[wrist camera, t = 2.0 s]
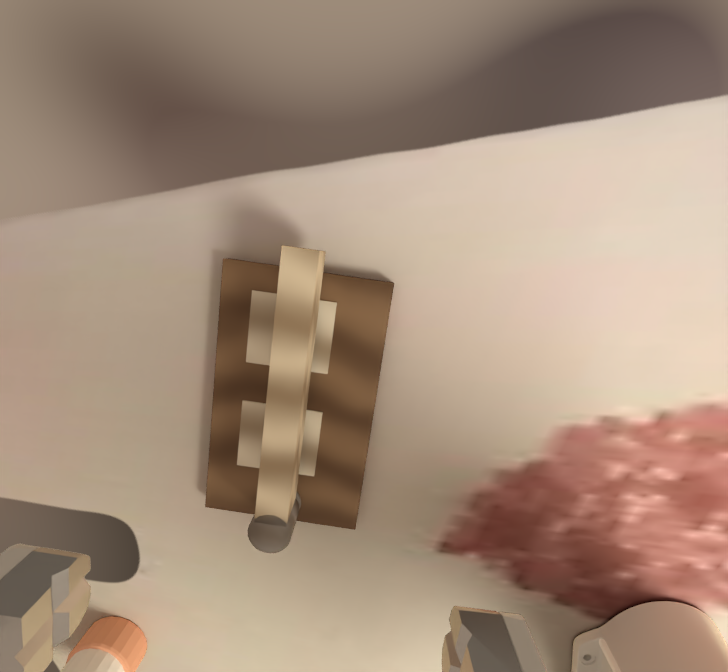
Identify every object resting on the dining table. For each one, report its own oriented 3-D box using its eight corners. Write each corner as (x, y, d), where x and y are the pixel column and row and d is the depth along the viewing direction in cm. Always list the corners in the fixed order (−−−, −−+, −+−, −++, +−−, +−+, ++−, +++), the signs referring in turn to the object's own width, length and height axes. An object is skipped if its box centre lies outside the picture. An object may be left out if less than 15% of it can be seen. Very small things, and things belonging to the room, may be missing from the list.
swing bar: (296, 527, 41) (288, 555, 37) (258, 521, 41) (246, 549, 37) (331, 252, 35) (325, 251, 32) (286, 245, 35) (275, 244, 32)
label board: (356, 520, 43) (354, 534, 41) (211, 498, 44) (202, 511, 41) (393, 282, 38) (394, 284, 36) (229, 258, 38) (220, 258, 36)
